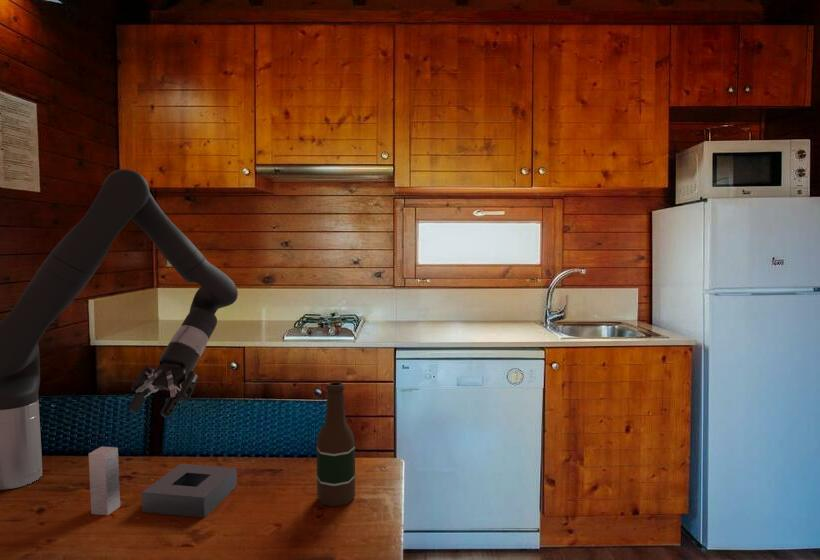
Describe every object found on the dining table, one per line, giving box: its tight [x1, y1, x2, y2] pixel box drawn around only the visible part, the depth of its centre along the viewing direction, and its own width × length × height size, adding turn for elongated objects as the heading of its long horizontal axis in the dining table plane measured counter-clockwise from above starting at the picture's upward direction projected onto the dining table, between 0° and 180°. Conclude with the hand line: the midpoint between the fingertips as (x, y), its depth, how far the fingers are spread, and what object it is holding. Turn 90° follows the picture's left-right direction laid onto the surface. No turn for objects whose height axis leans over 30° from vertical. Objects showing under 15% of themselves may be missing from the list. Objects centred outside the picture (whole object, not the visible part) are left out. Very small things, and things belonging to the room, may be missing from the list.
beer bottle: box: [316, 381, 356, 508], centre depth 109 cm, size 8×8×24 cm
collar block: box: [141, 463, 238, 518], centre depth 109 cm, size 13×13×4 cm
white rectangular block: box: [88, 446, 121, 516], centre depth 104 cm, size 4×4×12 cm
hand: (147, 413), depth 114 cm, fingers open, 8 cm apart
